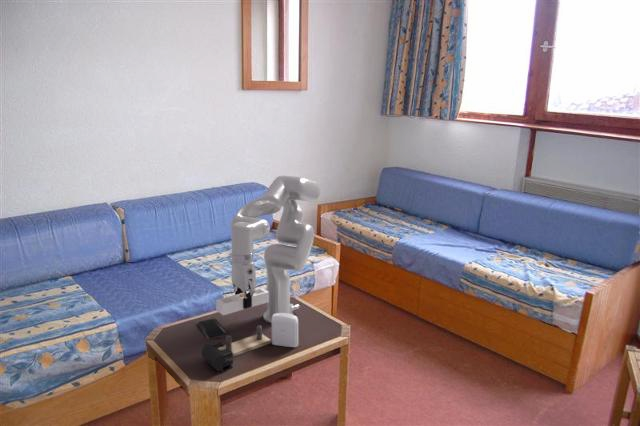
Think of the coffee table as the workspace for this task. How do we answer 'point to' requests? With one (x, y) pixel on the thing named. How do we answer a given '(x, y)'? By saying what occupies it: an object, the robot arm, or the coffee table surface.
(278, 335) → the photo printer
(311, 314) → the coffee table surface
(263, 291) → the white long block
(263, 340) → the board
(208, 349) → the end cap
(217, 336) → the phone
